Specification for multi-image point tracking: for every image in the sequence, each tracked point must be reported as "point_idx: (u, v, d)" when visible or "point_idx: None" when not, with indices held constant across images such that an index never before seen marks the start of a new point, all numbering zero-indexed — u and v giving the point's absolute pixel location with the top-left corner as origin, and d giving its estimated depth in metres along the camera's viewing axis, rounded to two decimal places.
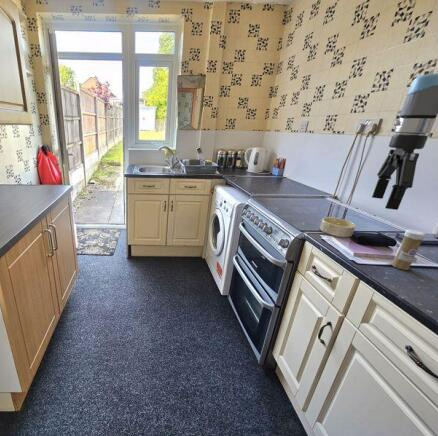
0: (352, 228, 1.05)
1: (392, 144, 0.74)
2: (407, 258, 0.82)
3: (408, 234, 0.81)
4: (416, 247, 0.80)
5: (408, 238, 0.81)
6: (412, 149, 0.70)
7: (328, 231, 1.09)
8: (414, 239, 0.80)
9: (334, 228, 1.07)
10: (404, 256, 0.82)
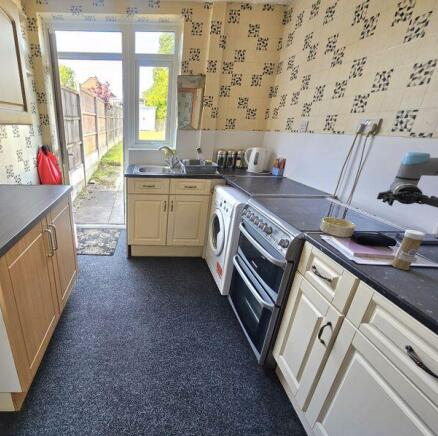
0: (352, 228, 1.05)
1: (400, 202, 1.01)
2: (407, 258, 0.82)
3: (408, 234, 0.81)
4: (416, 247, 0.80)
5: (408, 238, 0.81)
6: (396, 192, 1.00)
7: (328, 231, 1.09)
8: (414, 239, 0.80)
9: (334, 228, 1.07)
10: (404, 256, 0.82)
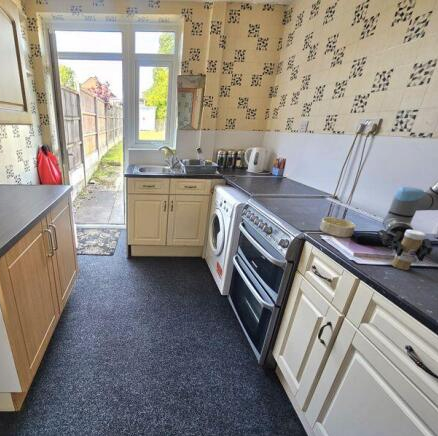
0: (352, 228, 1.05)
1: None
2: (407, 258, 0.82)
3: (408, 234, 0.81)
4: (416, 247, 0.80)
5: (409, 238, 0.81)
6: (388, 231, 0.95)
7: (328, 231, 1.09)
8: (414, 239, 0.80)
9: (334, 228, 1.07)
10: (404, 256, 0.82)
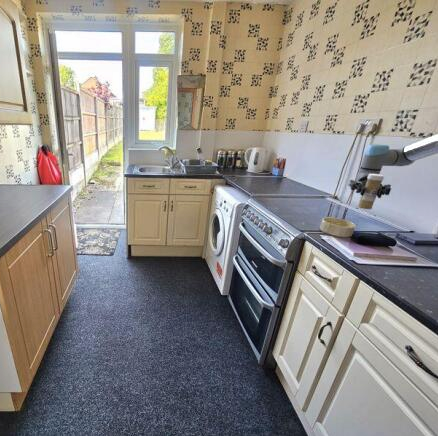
0: (352, 228, 1.05)
1: None
2: (369, 198, 0.95)
3: (370, 176, 0.94)
4: (376, 187, 0.93)
5: (370, 180, 0.94)
6: None
7: (328, 231, 1.09)
8: (374, 180, 0.92)
9: (334, 228, 1.07)
10: (367, 197, 0.95)
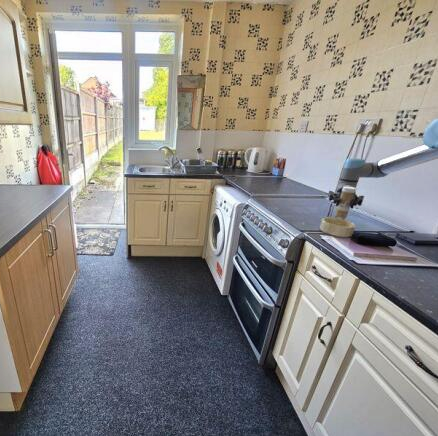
0: (352, 228, 1.05)
1: None
2: (343, 208, 1.06)
3: (344, 189, 1.05)
4: (350, 199, 1.05)
5: (344, 192, 1.05)
6: (336, 192, 1.19)
7: (328, 231, 1.09)
8: (347, 192, 1.04)
9: (334, 228, 1.07)
10: (341, 207, 1.07)
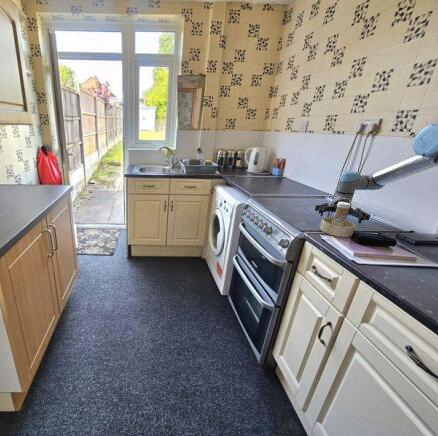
0: (352, 228, 1.05)
1: None
2: (339, 223, 1.09)
3: (339, 204, 1.08)
4: (344, 214, 1.07)
5: (339, 207, 1.08)
6: (332, 204, 1.22)
7: (328, 231, 1.09)
8: (342, 208, 1.06)
9: (334, 228, 1.07)
10: (337, 222, 1.09)
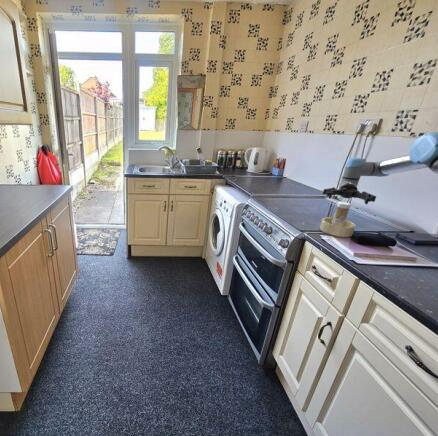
0: (352, 228, 1.05)
1: None
2: (339, 223, 1.09)
3: (339, 204, 1.08)
4: (344, 214, 1.07)
5: (339, 207, 1.08)
6: (339, 189, 1.28)
7: (328, 231, 1.09)
8: (342, 208, 1.06)
9: (334, 228, 1.07)
10: (337, 222, 1.09)
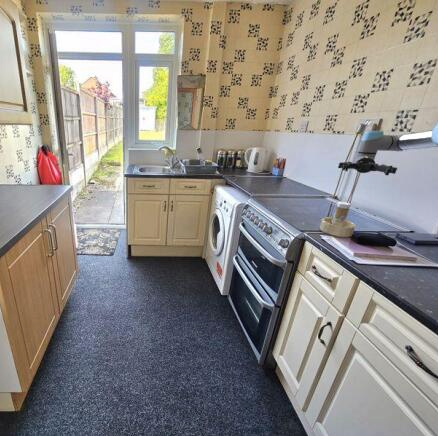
0: (352, 228, 1.05)
1: None
2: (339, 223, 1.09)
3: (339, 204, 1.08)
4: (344, 214, 1.07)
5: (339, 207, 1.08)
6: None
7: (328, 231, 1.09)
8: (342, 208, 1.06)
9: (334, 228, 1.07)
10: (337, 222, 1.09)
